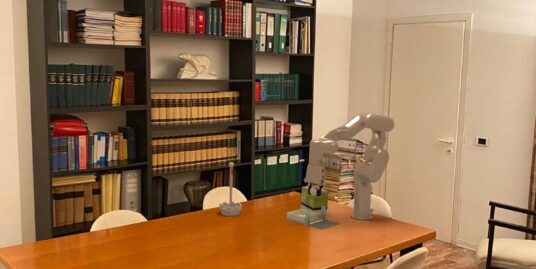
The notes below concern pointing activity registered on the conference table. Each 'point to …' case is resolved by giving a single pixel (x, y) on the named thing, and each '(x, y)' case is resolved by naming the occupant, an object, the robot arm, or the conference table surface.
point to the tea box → (314, 200)
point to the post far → (323, 212)
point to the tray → (302, 216)
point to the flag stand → (230, 200)
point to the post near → (307, 217)
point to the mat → (319, 223)
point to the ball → (313, 191)
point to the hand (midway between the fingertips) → (314, 195)
